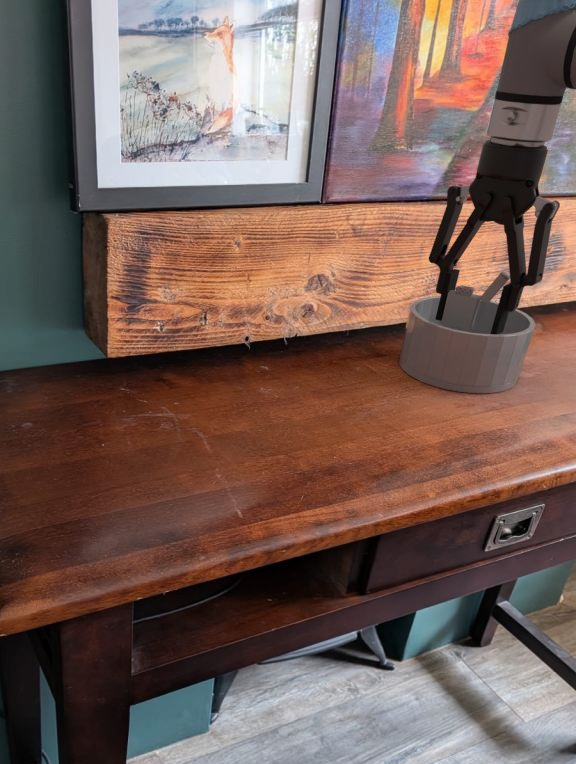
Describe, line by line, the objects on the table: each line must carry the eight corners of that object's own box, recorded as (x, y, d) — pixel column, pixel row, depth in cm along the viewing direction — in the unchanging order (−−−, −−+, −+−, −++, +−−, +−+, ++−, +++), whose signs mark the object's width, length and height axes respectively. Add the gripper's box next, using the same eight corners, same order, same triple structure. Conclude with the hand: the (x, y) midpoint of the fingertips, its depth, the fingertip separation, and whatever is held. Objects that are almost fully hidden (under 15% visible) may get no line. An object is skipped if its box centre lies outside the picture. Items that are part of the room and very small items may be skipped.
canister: (535, 370, 107) (552, 316, 103) (490, 404, 97) (507, 346, 92) (430, 339, 116) (442, 288, 111) (378, 368, 105) (389, 312, 101)
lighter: (440, 323, 103) (454, 265, 99) (443, 320, 105) (457, 262, 100) (493, 334, 101) (509, 275, 96) (495, 330, 102) (512, 272, 97)
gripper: (426, 133, 93) (390, 312, 105) (593, 156, 82) (531, 352, 95) (451, 129, 98) (414, 301, 110) (613, 150, 87) (551, 338, 100)
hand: (468, 325), depth 103 cm, fingers closed on lighter, 7 cm apart
